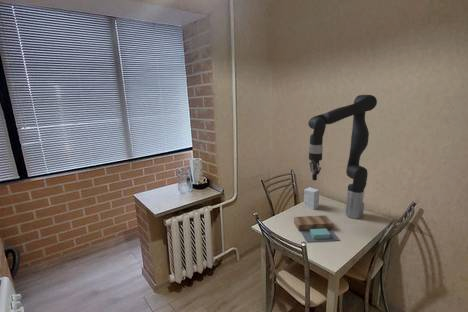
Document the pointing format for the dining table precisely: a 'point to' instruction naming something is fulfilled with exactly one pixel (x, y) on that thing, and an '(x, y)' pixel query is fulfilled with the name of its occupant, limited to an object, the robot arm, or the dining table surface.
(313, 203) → the small box
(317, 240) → the mat
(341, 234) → the dining table surface
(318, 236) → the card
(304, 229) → the brown wooden tray
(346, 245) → the dining table surface
